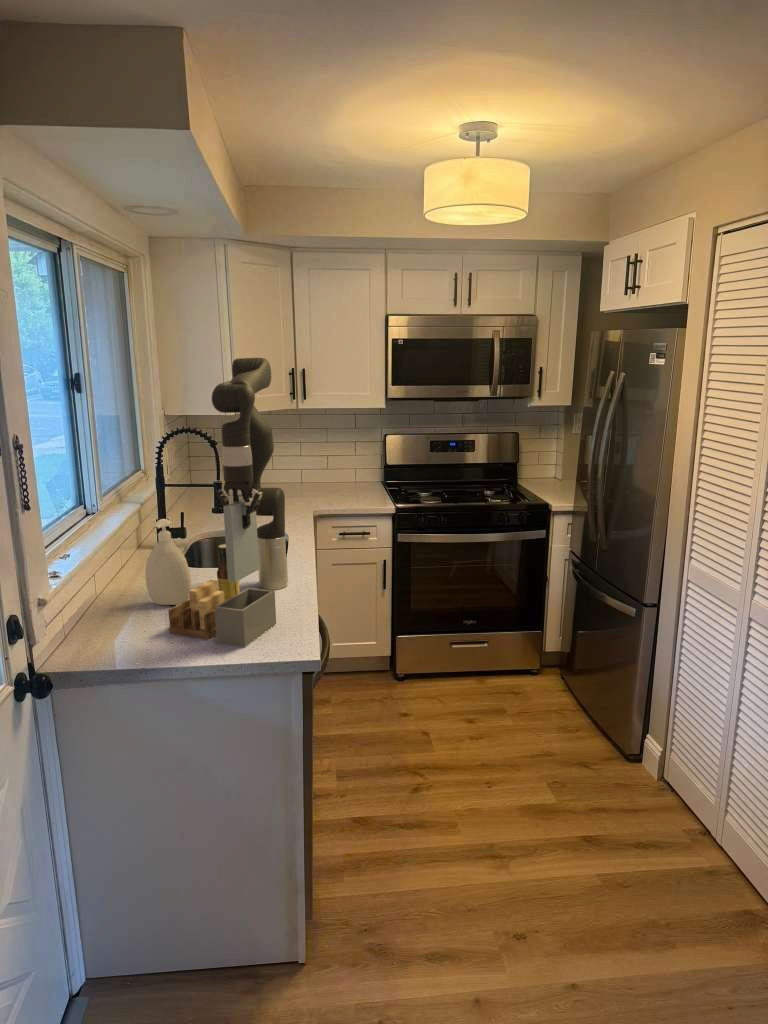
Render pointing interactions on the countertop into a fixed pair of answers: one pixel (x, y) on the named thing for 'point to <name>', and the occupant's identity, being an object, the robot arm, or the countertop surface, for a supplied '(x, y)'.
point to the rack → (183, 623)
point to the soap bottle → (167, 570)
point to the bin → (245, 616)
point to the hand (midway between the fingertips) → (241, 527)
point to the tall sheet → (240, 543)
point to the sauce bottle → (225, 576)
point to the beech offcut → (209, 605)
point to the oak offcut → (201, 594)
